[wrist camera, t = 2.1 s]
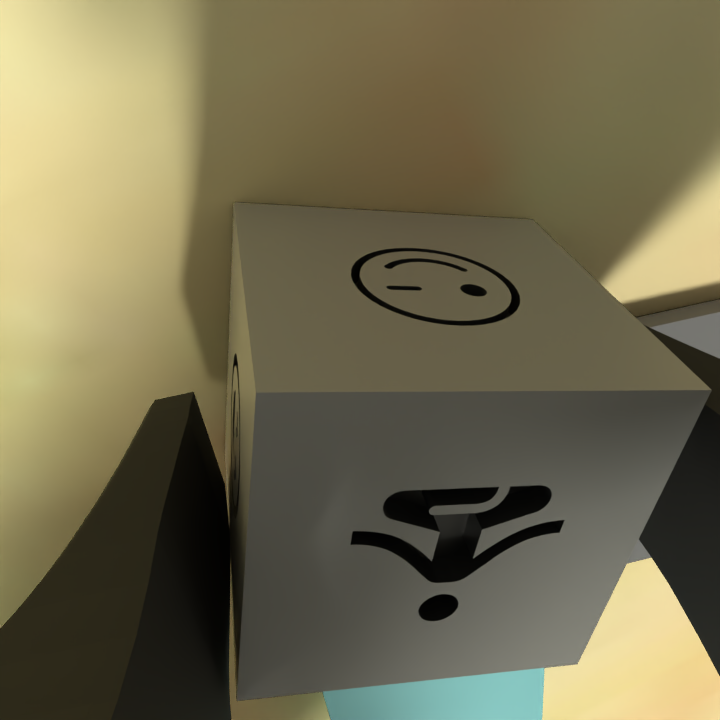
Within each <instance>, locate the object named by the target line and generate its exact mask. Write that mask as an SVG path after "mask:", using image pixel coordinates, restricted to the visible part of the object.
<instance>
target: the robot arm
mask: <svg viewBox="0 0 720 720" xmlns="http://www.w3.org/2000/svg"><path fill="white" fill-rule="evenodd" d="M644 326H645V325H644ZM645 327H646V328H647V329H648V330H649V331H650V332H651V333H652V334H653V335H654V336H655V337H657V338H658V339H659V340H660V341H661V342H662V343H663V344H664V345H665V346H666V347H667V348H668V349H669V350H670V351H671V352H672V353H673V354H674V355H675V356H677V357H678V358H679V359H680V360H681V361H682V362H683V363H684V364H685V365H686V366H687V367H688V368H689V369H690V370H691V371H692V372H693V373H694V374H695V375H696V376H698V377H699V378H700V379H701V380H702V381H703V382H704V383H705V384H706V385H707V386H708V387H709V388H710V389H711V390H712V391H711V393H710V395H709V397H708V399H707V401H706V403H705V405H704V407H703V409H702V411H701V413H700V415H699V417H698V419H697V421H696V423H695V425H694V427H693V429H692V431H691V433H690V436H689V438H688V440H687V442H686V444H685V446H684V448H683V450H682V452H681V454H680V456H679V458H678V460H677V462H676V464H675V466H674V468H673V470H672V472H671V474H670V476H669V478H668V480H667V482H666V484H665V486H664V489H663V491H662V493H661V495H660V497H659V499H658V501H657V503H656V505H655V507H654V509H653V511H652V513H651V515H650V517H649V519H648V521H647V523H646V525H645V527H644V529H643V531H642V533H641V535H640V537H639V540H640V542H641V543H642V545H643V546H644V547H645V549H646V550H647V552H648V553H649V554H650V556H651V557H652V559H653V560H654V562H655V563H656V565H657V566H658V568H659V569H660V571H661V572H662V574H663V576H664V577H665V579H666V580H667V582H668V583H669V585H670V587H671V588H672V590H673V592H674V594H675V595H676V597H677V599H678V601H679V603H680V604H681V606H682V608H683V610H684V611H685V613H686V615H687V617H688V619H689V620H690V622H691V624H692V626H693V627H694V629H695V631H696V633H697V634H698V636H699V638H700V640H701V642H702V644H703V646H704V647H705V649H706V651H707V653H708V655H709V657H710V659H711V661H712V663H713V664H714V666H715V668H716V670H717V672H718V674H719V676H720V358H717V357H715V356H712V355H710V354H708V353H705V352H703V351H701V350H699V349H696V348H694V347H692V346H689V345H687V344H685V343H683V342H680V341H678V340H676V339H674V338H672V337H669V336H667V335H665V334H663V333H661V332H658V331H656V330H654V329H652V328H650V327H647V326H645ZM230 566H231V554H230V527H229V517H228V508H227V500H226V491H225V483H224V481H223V478H222V475H221V472H220V469H219V466H218V463H217V460H216V457H215V454H214V451H213V448H212V445H211V442H210V439H209V436H208V433H207V430H206V427H205V424H204V421H203V418H202V415H201V412H200V409H199V406H198V403H197V400H196V398H195V395H194V392H190V393H186V394H181V395H177V396H172V397H167V398H163V399H158V400H155V401H154V403H153V404H152V406H151V407H150V409H149V411H148V412H147V414H146V416H145V418H144V420H143V422H142V424H141V426H140V427H139V429H138V431H137V433H136V435H135V437H134V439H133V441H132V442H131V444H130V446H129V448H128V450H127V451H126V453H125V455H124V457H123V459H122V460H121V462H120V464H119V466H118V467H117V469H116V471H115V472H114V474H113V476H112V477H111V479H110V481H109V482H108V484H107V486H106V487H105V489H104V491H103V493H102V494H101V496H100V497H99V499H98V501H97V502H96V504H95V505H94V507H93V508H92V510H91V511H90V513H89V514H88V516H87V517H86V519H85V520H84V522H83V523H82V525H81V526H80V528H79V529H78V531H77V532H76V534H75V535H74V537H73V538H72V540H71V541H70V543H69V544H68V546H67V547H66V548H65V550H64V551H63V553H62V554H61V555H60V557H59V558H58V559H57V561H56V562H55V564H54V565H53V566H52V568H51V569H50V570H49V572H48V573H47V574H46V575H45V577H44V578H43V579H42V581H41V582H40V583H39V584H38V586H37V587H36V588H35V589H34V590H33V592H32V593H31V594H30V595H29V597H28V598H27V599H26V600H25V601H24V603H23V604H22V605H21V606H20V607H19V609H18V610H17V611H16V612H15V613H14V614H13V615H12V616H11V618H10V619H9V620H8V621H7V622H6V623H5V624H4V625H3V626H2V627H1V628H0V720H231V709H230V696H229V627H230Z"/></svg>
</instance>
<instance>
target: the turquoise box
mask: <svg viewBox="0 0 720 720" xmlns="http://www.w3.org/2000/svg"><path fill="white" fill-rule="evenodd" d="M543 688H544V668H538V669H528V670H519V671H510V672H501V673H491V674H482V675H473V676H463V677H454V678H445V679H436V680H426V681H417V682H408V683H399V684H389V685H380V686H371V687H362V688H352V689H343V690H334V691H324V692H323V695H324V699H325V702H326V706H327V709H328V712H329V716H330V719H331V720H542V709H543Z"/></svg>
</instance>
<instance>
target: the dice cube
mask: <svg viewBox="0 0 720 720" xmlns="http://www.w3.org/2000/svg"><path fill="white" fill-rule="evenodd" d="M711 391H712V390H711V389H710V388H709V387H708V386H707V385H706V384H705V383H704V382H703V381H702V380H701V379H700V378H699V377H698V376H696V375H695V374H694V373H693V372H692V371H691V370H690V369H689V368H688V367H687V366H686V365H685V364H684V363H683V362H682V361H681V360H680V359H679V358H678V357H677V356H675V355H674V354H673V353H672V352H671V351H670V350H669V349H668V348H667V347H666V346H665V345H664V344H663V343H662V342H661V341H660V340H659V339H658V338H657V337H655V336H654V335H653V334H652V333H651V332H650V331H649V330H648V329H647V328H646V327H645V326H644V325H643V324H642V323H641V322H640V321H639V320H638V319H637V318H636V317H634V316H633V315H632V314H631V313H630V312H629V311H628V310H627V309H626V308H625V307H624V306H623V305H622V304H621V303H620V302H619V301H618V300H617V299H616V298H615V297H613V296H612V295H611V294H610V293H609V292H608V291H607V290H606V289H605V288H604V287H603V286H602V285H601V284H600V283H599V282H598V281H597V280H596V279H595V278H593V277H592V276H591V275H590V274H589V273H588V272H587V271H586V270H585V269H584V268H583V267H582V266H581V265H580V264H579V263H578V262H577V261H576V260H575V259H574V258H572V257H571V256H570V255H569V254H568V253H567V252H566V251H565V250H564V249H563V248H562V247H561V246H560V245H559V244H558V243H557V242H556V241H555V240H554V239H553V238H551V237H550V236H549V235H548V234H547V233H546V232H545V231H544V230H543V229H542V228H541V227H540V226H539V225H538V224H537V223H536V222H535V221H534V220H533V219H516V218H499V217H482V216H464V215H447V214H429V213H412V212H395V211H377V210H360V209H343V208H325V207H308V206H291V205H273V204H256V203H239V202H234V203H233V232H232V260H231V289H230V317H229V346H228V374H227V403H226V431H225V469H226V490H227V508H228V517H229V527H230V554H231V566H230V573H231V594H232V615H233V635H234V656H235V677H236V698H237V701H241V700H250V699H260V698H269V697H278V696H287V695H297V694H306V693H315V692H324V691H334V690H343V689H352V688H362V687H371V686H380V685H389V684H399V683H408V682H417V681H426V680H436V679H445V678H454V677H463V676H473V675H482V674H491V673H501V672H510V671H519V670H528V669H538V668H547V667H556V666H565V665H575V664H578V662H579V660H580V658H581V656H582V654H583V652H584V650H585V648H586V646H587V644H588V641H589V639H590V637H591V635H592V633H593V631H594V629H595V627H596V625H597V623H598V621H599V619H600V617H601V615H602V613H603V611H604V609H605V607H606V605H607V603H608V601H609V599H610V597H611V595H612V593H613V590H614V588H615V586H616V584H617V582H618V580H619V578H620V576H621V574H622V572H623V570H624V568H625V566H626V564H627V562H628V560H629V558H630V556H631V554H632V552H633V550H634V548H635V546H636V544H637V542H638V540H639V537H640V535H641V533H642V531H643V529H644V527H645V525H646V523H647V521H648V519H649V517H650V515H651V513H652V511H653V509H654V507H655V505H656V503H657V501H658V499H659V497H660V495H661V493H662V491H663V489H664V486H665V484H666V482H667V480H668V478H669V476H670V474H671V472H672V470H673V468H674V466H675V464H676V462H677V460H678V458H679V456H680V454H681V452H682V450H683V448H684V446H685V444H686V442H687V440H688V438H689V436H690V433H691V431H692V429H693V427H694V425H695V423H696V421H697V419H698V417H699V415H700V413H701V411H702V409H703V407H704V405H705V403H706V401H707V399H708V397H709V395H710V393H711Z"/></svg>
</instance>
